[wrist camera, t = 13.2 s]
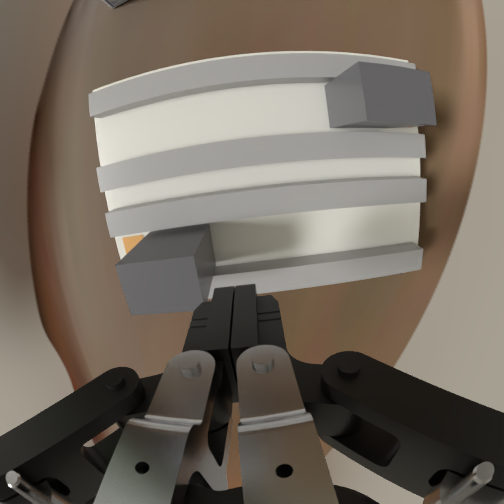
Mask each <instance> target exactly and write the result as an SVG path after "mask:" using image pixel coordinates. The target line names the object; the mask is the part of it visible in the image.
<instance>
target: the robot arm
mask: <svg viewBox="0 0 504 504" xmlns="http://www.w3.org/2000/svg"><path fill="white" fill-rule="evenodd" d="M233 402H239V409H240V423H239V424H238V440H239V453H240V465H241V477H242V487H237V488H233V489H228V485H227V477H226V467H227V460H228V453H229V446H230V439H231V431H232V424H233V420H232V416H231V415H232V403H233ZM114 423H117V425H118V426H119V427H120V428H119V429H117V430H116V431H115V432H113V433H112V434H110V435H109V436H107V437H106V438H104V439H103V440H101V441H100V442H98V443H97V444H95V445H94V446H92V447H85V446H83V445H84V443H86V442H87V441H89V440H91V439H92V438H94V437H95V436H97V435H98V434H100V433H101V432H102V431H104V430H105V429H107V428H108V427H110V426H111V425H113V424H114ZM318 435H319V437H320V438H321V439H322V440H323V441H324V442H325V443H327V444H328V445H330V446H331V447H333V448H335V449H336V450H338V451H339V452H341V453H342V454H344V455H346V456H347V457H349V458H350V459H352V460H354V461H355V462H357V463H359V464H360V465H362V466H364V467H365V468H367V469H369V470H371V471H372V472H374V473H376V474H378V475H380V476H381V477H383V478H385V479H387V480H389V481H391V482H392V483H394V484H396V485H398V486H400V487H402V488H404V489H406V490H408V491H410V492H412V493H414V494H416V495H419V496H421V497H423V498H424V501H423V504H504V413H503V412H500V411H497V410H495V409H492V408H489V407H486V406H484V405H481V404H479V403H476V402H474V401H471V400H469V399H466V398H464V397H461V396H459V395H456V394H454V393H451V392H449V391H446V390H444V389H442V388H439V387H437V386H434V385H432V384H430V383H427V382H425V381H423V380H420V379H418V378H415V377H413V376H411V375H409V374H407V373H404V372H402V371H400V370H397V369H395V368H393V367H391V366H389V365H386V364H384V363H382V362H380V361H378V360H375V359H373V358H371V357H369V356H367V355H365V354H362V353H359V352H354V351H344V352H339V353H336V354H334V355H332V356H330V357H329V358H327V359H326V360H325V361H324V363H323V365H320V364H309V363H304V362H301V361H298V360H296V359H295V358H293V357H292V356H291V355H290V354H289V353H288V351H287V348H286V343H285V338H284V332H283V326H282V321H281V315H280V309H279V304H278V301H277V300H276V299H275V298H274V297H273V296H271V295H267V296H258V297H257V292H256V285H255V284H247V285H238V286H229V287H219V288H214V292H213V297H212V301H211V302H202V303H201V304H200V305H199V306H198V307H197V308H196V309H195V310H194V313H193V316H192V321H191V323H190V328H189V330H188V333H187V337H186V340H185V344H184V347H183V351H182V353H180V354H178V355H176V356H175V357H173V358H172V359H171V360H170V361H169V362H168V364H167V366H166V368H165V370H164V373H161V374H158V375H154V376H150V377H145V378H141V379H140V378H139V376H138V375H137V373H136V372H135V371H134V370H133V369H131V368H128V367H117V368H113V369H110V370H108V371H106V372H105V373H103V374H102V375H100V376H98V377H97V378H95V379H94V380H92V381H90V382H89V383H87V384H86V385H84V386H83V387H81V388H79V389H78V390H76V391H75V392H73V393H71V394H70V395H68V396H67V397H65V398H63V399H62V400H60V401H58V402H57V403H55V404H54V405H52V406H50V407H49V408H47V409H45V410H44V411H42V412H40V413H39V414H37V415H36V416H34V417H32V418H31V419H29V420H27V421H26V422H24V423H22V424H21V425H19V426H17V427H16V428H14V429H12V430H11V431H9V432H7V433H5V434H4V435H2V436H0V504H379V503H378V502H376V501H374V500H373V499H371V498H369V497H368V496H366V495H364V494H362V493H360V492H357V491H355V490H352V489H349V488H346V487H341V486H337V485H333V483H332V480H331V476H330V473H329V469H328V466H327V463H326V459H325V456H324V453H323V450H322V446H321V443H320V440H319V437H318Z"/></svg>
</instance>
